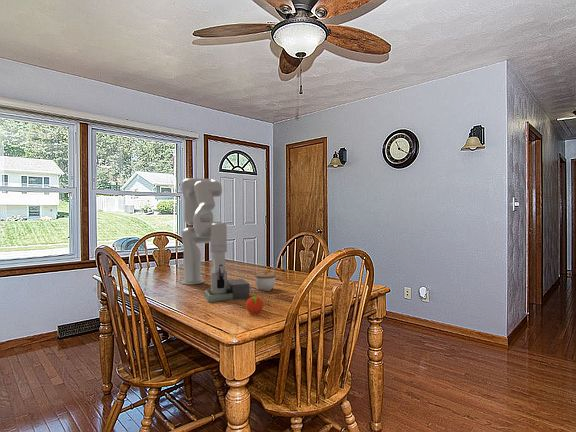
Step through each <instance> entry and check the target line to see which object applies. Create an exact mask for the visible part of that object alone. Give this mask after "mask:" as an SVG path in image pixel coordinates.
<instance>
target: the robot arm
mask: <svg viewBox="0 0 576 432" xmlns="http://www.w3.org/2000/svg"><path fill="white" fill-rule="evenodd" d="M181 192H182V195H183V199H184V222H185V224H187V225H189V226H191V227H185V228H183V230H182V231H181V240H182V241H181V242H182V247H183V279H182V280H181V281H180V284H181V285H189V286H190V285H199V284H202V283H204V282H205V281H204V279H203V278H202V263H201V261H202V259H201V258H202V255H201V252H202V251H201V249H200V248H199V246H197V245H200V244H209V243H210V253H212V254H211V268H210V269H211V271H212V269H213V271H214V274H216V273H218V272H220V273H218V274H217V275H218V280H217V288H218V289H219V288H224V273H225V270H226V269H225V268H226V253H228V243H227V242H228V240H227V238H228V234H227V233H228V231H227V230H228V228H227V224H226V223H225V222H221V221H214V214H213V213H214V212H213V211H212V210H214V209H215V207H216V201H215V199H214V198H217V197H220V196H221V195H222V194H223V186H222V184H221V183H220V181H218V180H215V179H212V178H201V177H200V178H199V177H198V178H197V177H196V178H195V177H194V178H193V177H190V178H189V177H188V178H185V179H183V180H182V183H181ZM220 274H221V275H220Z"/></svg>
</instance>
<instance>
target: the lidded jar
mask: <svg viewBox="0 0 576 432" xmlns="http://www.w3.org/2000/svg"><path fill="white" fill-rule="evenodd" d="M276 276H277V274H276V273H272V272H267V271H265V270H264V272H261V273H260V272H259V273H256V274H255V275H254V277H255V284H256V287H257V288H258V289H259V290H260V291H263V292H264V291H271V290H272V289H273V288H274V286H275V285H276Z"/></svg>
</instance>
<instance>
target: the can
mask: <svg viewBox="0 0 576 432" xmlns="http://www.w3.org/2000/svg"><path fill="white" fill-rule="evenodd" d="M211 269H212V268H211ZM226 269H227V268H226V267H225V273H224V288H219V289H218V288H217V280H218V275H217V274H218V273H220V272H218V273H216V274H214V271H213V269H212V270H211V271H210V290H211V293H213V294H214V295H218V294H225V293H226V292H227V280H228V270H226ZM220 275H221V274H220Z"/></svg>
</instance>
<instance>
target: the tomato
mask: <svg viewBox="0 0 576 432" xmlns="http://www.w3.org/2000/svg"><path fill="white" fill-rule="evenodd" d="M245 308H246V311H247V312H248V313H250V314H253V315H257V314H259V313H261V311H262V310H263V308H264V302H263V300H262V298H261V297H259V296H255V295H253V296H249V298H248V299H247V300H246V303H245Z"/></svg>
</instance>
